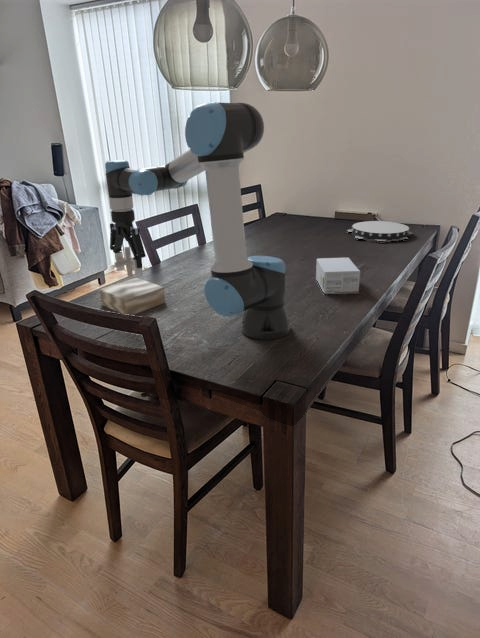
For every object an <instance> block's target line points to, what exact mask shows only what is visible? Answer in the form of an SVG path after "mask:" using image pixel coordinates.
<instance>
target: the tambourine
mask: <svg viewBox="0 0 480 638" xmlns="http://www.w3.org/2000/svg"><path fill="white" fill-rule="evenodd" d="M347 231H348V232H352V233H351V235H352V234H353V235H355V238H358V239H363V238H367V239H375V240H377V241H386V240H392V239H408V240H409V235H408V234H412V235H413V232H412V231H410V227H409V226H408V225H405V224H404V223H403V224H402V223H399V222H394V221H385V220H382V221H381V220H371V221H370V220H369V221H367V220H366V221H359V222H356V223H353V224H352V226H351V229H347V230H346V232H347ZM348 232H347V233H348ZM407 236H408V237H407ZM355 238H354V239H355ZM358 239H357V240H358Z"/></svg>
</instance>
